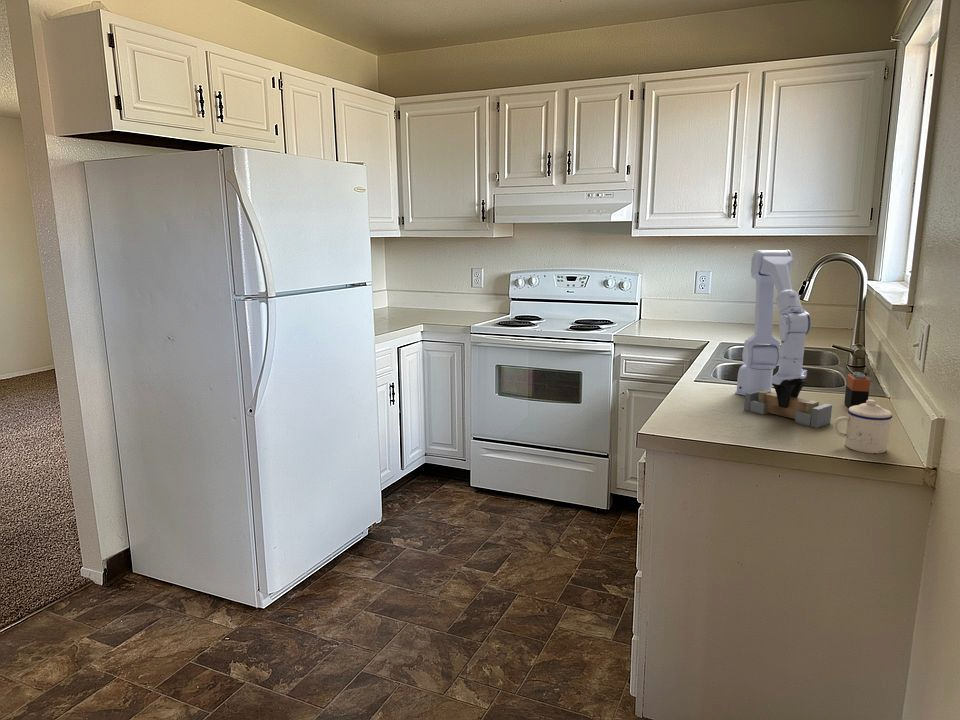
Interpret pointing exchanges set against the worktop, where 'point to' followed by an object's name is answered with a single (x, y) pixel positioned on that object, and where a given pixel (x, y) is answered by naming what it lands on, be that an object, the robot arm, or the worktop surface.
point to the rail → (793, 405)
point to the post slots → (816, 419)
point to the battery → (856, 389)
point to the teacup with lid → (866, 427)
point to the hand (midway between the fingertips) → (786, 405)
